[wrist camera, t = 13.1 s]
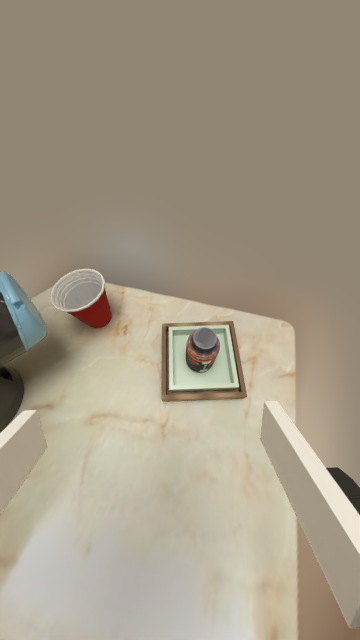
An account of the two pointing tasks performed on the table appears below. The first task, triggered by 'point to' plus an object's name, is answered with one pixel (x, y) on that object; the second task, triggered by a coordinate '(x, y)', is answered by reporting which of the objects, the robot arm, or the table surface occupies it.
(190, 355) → the supplement bottle
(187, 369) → the grey-green crate
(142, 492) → the table surface
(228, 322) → the walnut crate
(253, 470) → the table surface
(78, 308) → the plastic cup
